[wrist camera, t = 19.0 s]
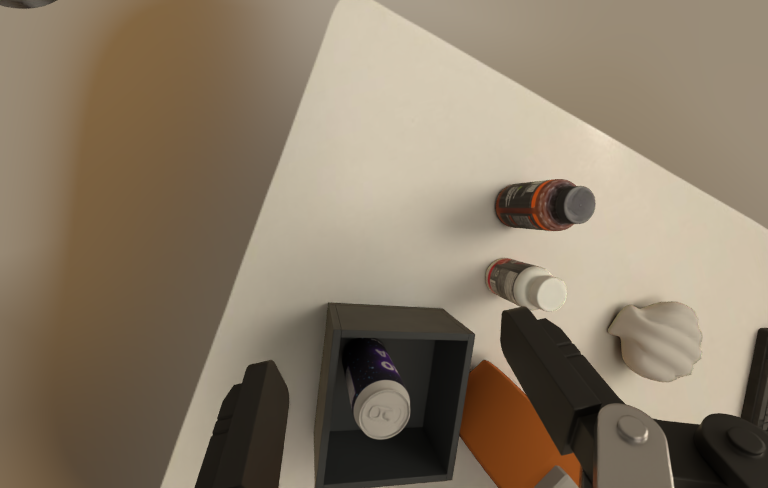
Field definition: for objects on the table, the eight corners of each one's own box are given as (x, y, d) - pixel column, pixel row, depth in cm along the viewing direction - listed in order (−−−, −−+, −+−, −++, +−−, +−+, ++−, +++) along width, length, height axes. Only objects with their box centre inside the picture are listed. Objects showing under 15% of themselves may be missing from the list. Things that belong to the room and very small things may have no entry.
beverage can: (376, 379, 41) (402, 447, 30) (335, 370, 40) (345, 439, 28) (390, 339, 41) (422, 392, 29) (349, 329, 40) (366, 380, 28)
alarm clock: (429, 391, 44) (498, 499, 28) (475, 347, 45) (568, 428, 29) (514, 485, 50) (612, 620, 34) (554, 445, 51) (668, 558, 35)
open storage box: (313, 433, 41) (314, 492, 33) (328, 302, 39) (333, 329, 31) (425, 427, 45) (452, 480, 36) (442, 308, 43) (475, 334, 35)
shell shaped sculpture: (676, 337, 54) (724, 355, 48) (622, 381, 52) (664, 405, 46) (653, 276, 51) (701, 286, 45) (595, 320, 50) (636, 337, 43)
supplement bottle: (525, 231, 45) (595, 239, 34) (488, 221, 43) (549, 227, 32) (536, 189, 44) (610, 184, 33) (499, 178, 43) (565, 170, 32)
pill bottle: (520, 259, 45) (576, 273, 36) (514, 295, 46) (568, 319, 36) (487, 255, 44) (536, 269, 34) (481, 293, 44) (528, 317, 35)
